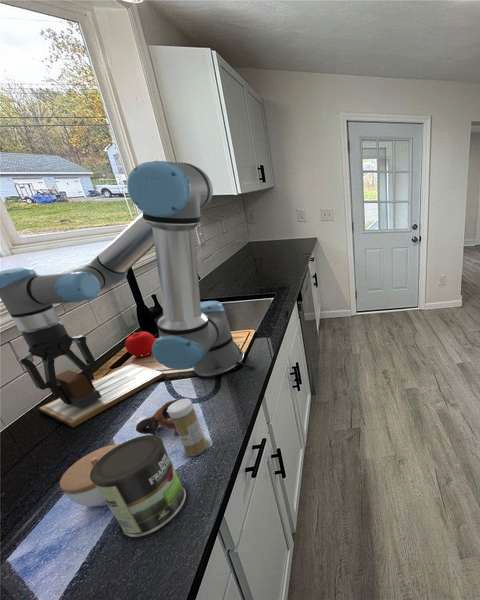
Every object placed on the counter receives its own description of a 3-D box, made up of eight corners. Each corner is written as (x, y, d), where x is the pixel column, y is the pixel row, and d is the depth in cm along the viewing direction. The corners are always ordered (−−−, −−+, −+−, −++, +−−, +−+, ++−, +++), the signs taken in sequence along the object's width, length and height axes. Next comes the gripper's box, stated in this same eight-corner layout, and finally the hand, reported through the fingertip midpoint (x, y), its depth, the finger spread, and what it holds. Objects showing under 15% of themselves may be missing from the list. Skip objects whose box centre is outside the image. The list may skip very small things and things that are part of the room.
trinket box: (105, 522, 60) (83, 488, 56) (63, 512, 62) (39, 479, 58) (156, 472, 69) (140, 440, 66) (118, 466, 71) (100, 435, 68)
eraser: (102, 397, 92) (90, 374, 89) (80, 408, 88) (67, 385, 85) (82, 389, 96) (70, 367, 93) (60, 400, 92) (47, 377, 89)
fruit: (128, 355, 119) (117, 331, 115) (156, 345, 125) (147, 322, 121) (133, 363, 113) (122, 339, 109) (163, 352, 119) (153, 329, 115)
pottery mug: (185, 410, 88) (189, 391, 85) (197, 437, 84) (202, 418, 81) (130, 427, 79) (133, 407, 75) (141, 459, 75) (144, 438, 71)
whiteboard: (164, 376, 104) (163, 372, 104) (73, 427, 84) (70, 423, 83) (132, 366, 111) (131, 362, 110) (41, 411, 91) (38, 407, 90)
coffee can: (194, 480, 67) (172, 429, 62) (172, 529, 58) (144, 475, 52) (140, 491, 65) (113, 440, 60) (109, 544, 56) (73, 489, 50)
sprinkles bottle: (181, 454, 73) (161, 409, 68) (199, 439, 77) (182, 396, 72) (195, 459, 72) (175, 413, 67) (212, 444, 76) (195, 400, 71)
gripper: (76, 310, 92) (109, 376, 101) (-17, 340, 77) (32, 414, 85) (90, 313, 89) (122, 381, 98) (-3, 345, 74) (45, 421, 83)
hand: (80, 396), depth 92 cm, fingers closed on eraser, 5 cm apart
